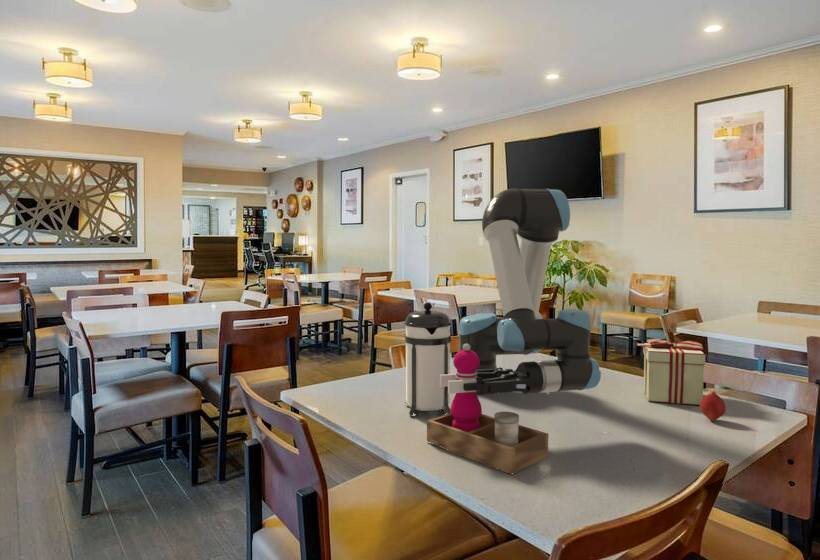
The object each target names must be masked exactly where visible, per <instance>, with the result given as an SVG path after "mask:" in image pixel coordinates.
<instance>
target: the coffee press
mask: <svg viewBox="0 0 820 560" xmlns="http://www.w3.org/2000/svg"><path fill="white" fill-rule="evenodd" d="M432 307H433V305H432V303H431V302H428V301H427V302H425V303H423V308H424V310H417V311H414V312H413V311H412V312H411V313H409V314H407V316H406V319H405V320H404V322H403V323H404V326H405V334H404V342H405V403H407V405H408V407H409V408H410V410H409V413H408V415H409V414H410V415H413V413H414V414H418V413H419V412H420V411H421V412H422V411H423V412H435V411H440V412H442V413H443V415H444V414H446V413H448V414H449V413H451V412H450V410H451V407H450V406H449V405H450V394H449V393H448V387H440V375H444V374H451V369H450V368H451V367H450V365H451V363H450V360H451V356H450V355H451V350H450V349H451V343H452V342H451V341H452V340H451V338H452V334H451V332H450V331H451V326H452V320H450V317H449V315H448V314H447V313H444V312H442V311H438V310H437V311H436V310H432ZM405 403H404V404H405Z"/></svg>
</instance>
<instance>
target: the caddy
mask: <svg viewBox="0 0 820 560" xmlns="http://www.w3.org/2000/svg"><path fill="white" fill-rule="evenodd" d="M453 420H454V417H453V416H452V415H451V413H449V414H446V415H444V414H443V415H439V416H437V417H433V418H432V419H428V420H426V442H427V441H428V442H431V443H433V444H435V445H438V446H441V447H443V448H445V449H448V450H450V451H452V452H451V453H453V452H455V453H454V454H456V453H457V454H456V455H458V454H460V455H459V456H461V455H462V457H463V456H465V457H464V458H466V457H467V458H466V459H469V458H470V459H469V460H471V459H473V460H472V461H474V460H475V462H477V461H478V462H477V463H479V462H481V463H480V464H482V463H484V464H486V465H485V466H487V465H489V466H488V467H490V466H491V467H490V468H492V467H494V468H493V469H495V468H498V469H500V470H503V471H505V472H508V473H511V474H512V473H515V472H517V471H519V470H521V469H523V468H525V469H526V467H527V468H529V467H531V466H533V465H535V464H537V463H539V462H542V461H543V460H545V459H547V458H549V432H544V431H542V430H541V431H540V430H537V429H534V428H530V427H527V426H524V425H521V424H519V421H520V415H519V414H518V413H516V412H512V411H498V412H496V413H495V412H494V415H493V416H491V415H487V414H485V413H482V414H481V416H480V417H479V418H478V421H479V422H480V428H478V429H475V430H473V431H470V432H465V431H462V430H459V429H456V428H453V427H452V422H453ZM435 445H434V446H435ZM445 449H444V450H445ZM448 450H447V451H448ZM450 451H449V452H450ZM484 464H483V465H484ZM530 465H531V466H530ZM528 466H529V467H528ZM498 469H497V470H498ZM500 470H499V471H500ZM523 470H524V469H523ZM503 471H502V472H503ZM521 471H522V470H521ZM505 472H504V473H505ZM519 472H520V471H519ZM508 473H507V474H508ZM517 473H518V472H517ZM511 474H510V475H511ZM515 474H516V473H515Z"/></svg>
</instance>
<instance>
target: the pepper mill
mask: <svg viewBox="0 0 820 560" xmlns="http://www.w3.org/2000/svg"><path fill="white" fill-rule="evenodd" d="M452 364H453V367H455V369H456V370H455V373H454V374H456V376H455V377H456V378H457V380H466V379H476V378H477V371H476V369H477V368H478V367H479V364H480V360H479V357H478V355H477V354H476V353H475V352H473V351H471V350H470V345H469V344H464V345H463V350H462V351H459V350H458V352H456V353H455V354H454V355H453V363H452ZM450 412H451V415H452V416H453V417H454V420H453V422H452V427H453V428H456V429H459V430H462V431H465V432H470V431H473V430H475V429H478V428H480V422H479V421H478V418H479V417H480V416H481V414H483V410H482V403H481V401H480V399H479V397H478V394H476V392H464V393H455V395H454V397H453V399H452V402H451V404H450Z"/></svg>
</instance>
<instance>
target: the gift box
mask: <svg viewBox="0 0 820 560" xmlns="http://www.w3.org/2000/svg"><path fill="white" fill-rule="evenodd" d="M636 345H637V347H643V351H642V352H643V355H644V358H643V360H644V361H643V391H644V394H645V396H646V399H647V402H653V403H654V402H657V403H668V404H678V405H679V404H680V405H693V406H696V405H697V406H700V402H701V400H702V399H703V398H704V366H705V365H706V354H705V353H704V346H703V343H701V342H698V341H695V340H685V341H681V342H676V343H674V342H671V341H669V340H664V339H658V338H655V339H654V338H652V339H646V342H644V343H640V342H637V343H636Z"/></svg>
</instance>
